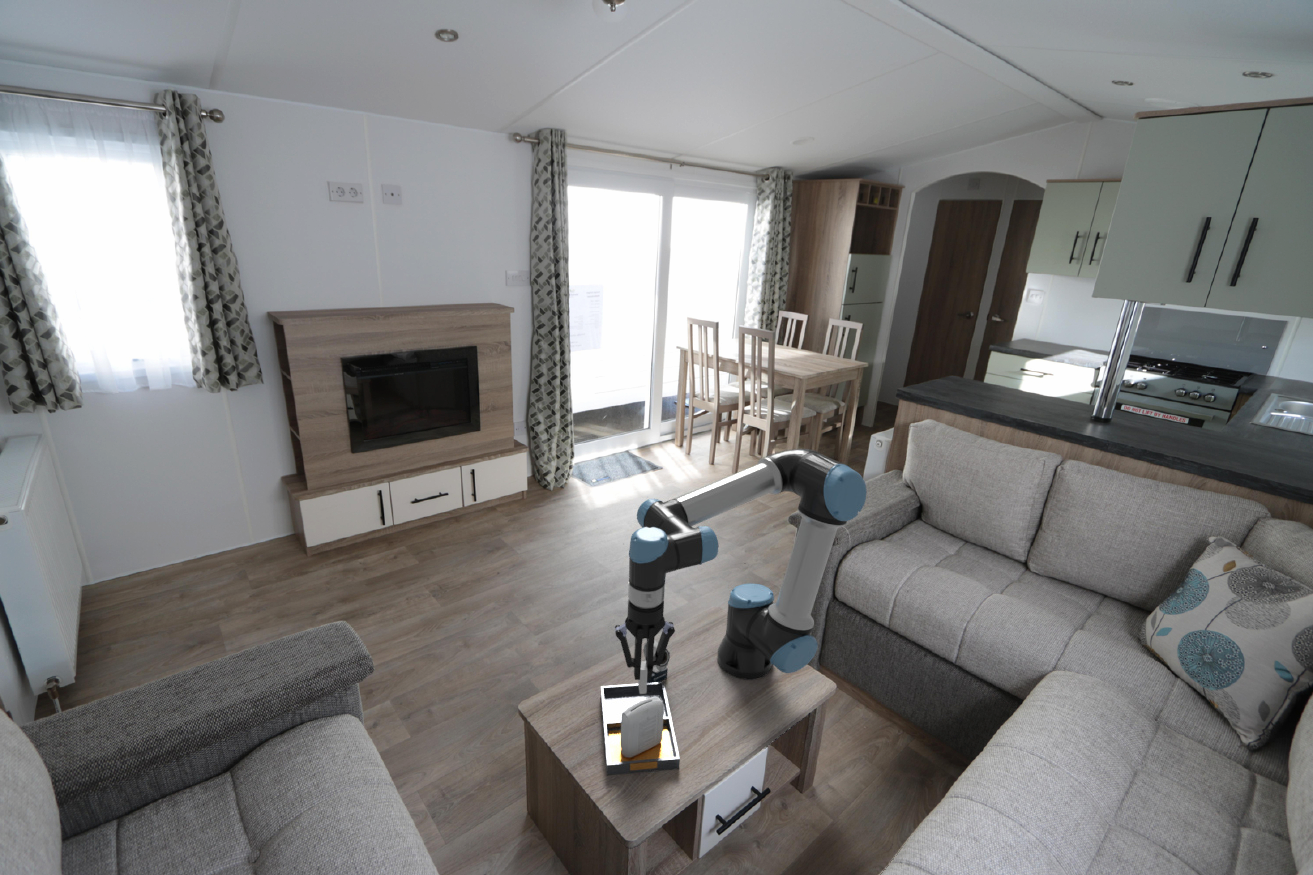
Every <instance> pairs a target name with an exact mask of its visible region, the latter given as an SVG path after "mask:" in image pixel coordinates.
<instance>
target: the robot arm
mask: <svg viewBox="0 0 1313 875" xmlns="http://www.w3.org/2000/svg"><path fill="white" fill-rule="evenodd" d="M782 492H790V493H793V494H796V496H799V497H800V500H799V503H798V507H797V511H798V512H799V514H800V516H801V519H800V523H799V526H798V529H797V533H796V536H795V540H794V543H793V547H792V550H791V553H790V555H789V556H790V557H789V560H788V562H787V566H786V570H785V573H784V577H783V580H782V583H781V585H780V590H779V593H778V597H777V600H776V602H774V601H775V596H774V591H772V589H770V588H769V587H768V586H765V585H763V584H759V583H752V582H751V583H750V582H749V583H742V584H739V585H737V586H735V587H734V588H732V589H731V590H730V593H729V600H728V601H727V604H728V606H727V617H726V626H725V628H726V629H725V635H724V636H723V639H722V640H721V641H720V644H719V645H718V649H717V657H716V658H717V663H718V665H719V667H720V668H721V669H722V670H723V671H724V672H725V673H726V674H728V675H730V676H732V677H734V678H737V679H741V680H747V681H748V680H751V681H752V680H757V679H762V678H763V677H765V676H766V675H768V673H770V671H771V669H772V666H774V667H775V668H776V669H777V670H779V671H780V672H781V673H785V674H792V673H796V672H798V671H800V670H802V669H803V668H804V667H806V666H807V665H809V663H810V662H811V661H812V660H813V658H814V657H815V655H816V653H817V651H818V642H817V639H816V637H814V635H812V632H813V629H814V626H815V621H814V618H813V617H812V615H811V614H812V611H813V609H814V605H815V601H816V598H817V594H818V592H819V589H820V585H821V583H822V578H823V576H824V574H825V573H824V572H825V569H826V566H827V564H828V560H829V557H830V554H831V550H832V548H833V544H834V541H835V538H836V535H837V532H838V529H840V528H842V527H844V526H846V525H847V523H848V522H849V521H851V520H853V519H855V518H856V517H857V516H858V514H859V513H860V512H861V511H862V509H863V508H864V506H865V503H866V501H867V500H866V499H867V485H866V482H865V480H864V477H863V476H862V475H861V473H859V472H858V471H856V470H854V469H852V467H850V466H848V464H844V463H842V462H840V461H837V460H835V459H834V458H830V457H829V456H827V455H824V454H823V453H821V452H819V451H817V450H814V449H810V448H794V449H787V450H783V451H777V452H775V453H772V454H768V455H766V456H764V457H762V458H759V460H758V461H757V463H756V464H755V465H753V466H750V467H748V468H745V469H742V470H741V471H738V472H736V473H733V474H731V475H728V476H726V477H724V478H721V479H718V480H716V481H714V482H711V483H709V484H705V485H704V486H701V487H699V488H695V489H694V490H691V491H688V492H687V493H684V494H682V495H680V496H679V495H678V496H677V497H674V498H672V499H670V500H667V501H663V500H660V499H658V498H649V499H646V500H644V501H643V502H642V503H641V504H640V505H639V506H638V509H637V513H636V520H637V523H638V524H639V526H640V527H641V528H638V529H636V530H635V531H634V532H633V533H632V535H631V536H630V542H629V549H628V557H629V561H628V562H629V565H628V567H629V568H628V570H629V571H628V589H627V590H628V592H627V596H628V597H627V598H628V599H627V616H626V618H625V621H624V623H623V624H621V625H619V624H616V625H615V626H614V630H615V636H616V637H617V639H618V640H619V642H620V644H621V645H620V646H621V648H622V652H623V655H624V659H625V663H626V666H627V668H629V669H631V668H633V675H634V680H635V681H638V683H637V684H638V686H639V693H640V694H646V691H647V679H651V678H652V670H653V666H655V665H657V666H659V665H661V662H662V660H663V657H664V654H665V651H666V649H667V648H668V646H669V645H668V644H669V642H670V639H671V637H672V636H673V635H674V633H675V632H676V629H675V625H674V622H672V621H669V622H668V621H665V616H664V611H665V610H664V609H665V608H664V607H665V591H666V590H665V587H666V577H667V576H666V575H667V573H672V572H675V571H677V570H683V569H687V568H691V567H695V566H698V565H703V564H705V563H708V562H710V561H713V560H715V559H716V557H717V556H718V553H719V540H718V537H717V535H716V532H715V531H714V530H713V529H712V527H710V526H705V525H704V526H703V525H702V526H696V525H697V524H700V523H702V522H705V521H707V520H710V519H712V518H714V517H716V516H719V515H722V514H723V513H725V512H728V511H732V509H735V508H737V507H739V506H742V505H744V504H747V503H750V502H753V500H757V499H758V498H761V497H764V496H765V495H767V494H771V495H773V496H774V495H775V496H776V495H779V494H780V493H782ZM693 526H696V527H693ZM661 630H662V631H661ZM660 631H661V633H660ZM628 632H629V633H630V634H631V635H632V636H633V637H634V654H633V656H634V657H632V654H631V650H630V647H629V646H630V645H629V643H628V639H627V634H628ZM659 633H660V638H659V640H658V642H659V643H658V646H657V649H656V652H655V655H654V656H653V651H654V640H655V637H656V636H657V635H658V634H659ZM644 639H646V642H647V645H646V660H644V661H643V660H642V653H643V652H642V651H643V650H642V648H643V647H642V646H643V640H644Z"/></svg>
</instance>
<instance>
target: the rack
mask: <svg viewBox="0 0 1313 875" xmlns="http://www.w3.org/2000/svg"><path fill="white" fill-rule="evenodd" d="M665 687H666V686H665V682H664V681H660V682H654V683H647V691H646V694H640V693H639V686H638V683H629V684H628V683H627V684H614V685H613V684H611V685H601V686H600V702H601V704H600V705H601V715H602V716H601V717H602V728H603V740H604V741H603V742H604V753H605V754H604V755H605V767H606V776H617V775H626V774H636V773H637V774H638V773H649V772H657V771H658V772H659V771H670V770H671V771H672V770H680V764H681V763H680V762H681V761H680V760H681V758H680V753H679V748H678V743H677V738H676V735H675V734H676V733H675V729H674V725H673V720H672V714H671V710H670V705H669V700H668V696H667V691H666V688H665ZM652 697H659V699H660V700H661V701H662V703H663V706H664V718H663V733H662V741H661V742H660V743H659V744H658V745H656V746H654V747H652V748H650V749H648V750H646V751H644V752H642V753H640V754H638V755H636V756H633V757H630V758H628V757H625V756H624V755H623V754H622V753H621V746H620V741H621V716H622V713H623V712H624V711H625V710H626V709H627V708H629V707H630V706H632V705H634V704H635V703H637V702H639V701H642V700H644V699H647V698H652Z"/></svg>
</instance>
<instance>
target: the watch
mask: <svg viewBox="0 0 1313 875" xmlns="http://www.w3.org/2000/svg"><path fill="white" fill-rule="evenodd" d="M658 643H659V640H658V639H654V651H653V656H654V655H655V652H656V649H657V646H658ZM646 645H647V641H646V642H644V644H643V650H642V651H643V656H644V661H646ZM670 654H671V652H670V651H669V650H668V649H667V648H666V651H665V654H664V657H663V660H662V662H661V665H659V666H657V665H655V666H653V670H652V678H651V679H647V683H654V682H663V681H664V680H666V679H668V668H667V667H668V666H669V662H670V658H671V655H670Z"/></svg>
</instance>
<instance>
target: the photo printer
mask: <svg viewBox="0 0 1313 875" xmlns="http://www.w3.org/2000/svg"><path fill="white" fill-rule="evenodd" d="M663 718H664V706H663V703H662V701H661V700H660V699H659V697H652V698H647V699H644V700H642V701H639V702H637V703H635V704H634V705H632V706H630V707H629V708H627V709H626V710H625V711H624V712H623V713H622V716H621V741H620V746H621V753H622V754H623V755H624V756H625V757H628V758H630V757H633V756H636V755H638V754H640V753H642V752H644V751H646V750H648V749H650V748H652V747H654V746H656V745H658V744H659V743H660V742H661V741H662V733H663Z"/></svg>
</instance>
